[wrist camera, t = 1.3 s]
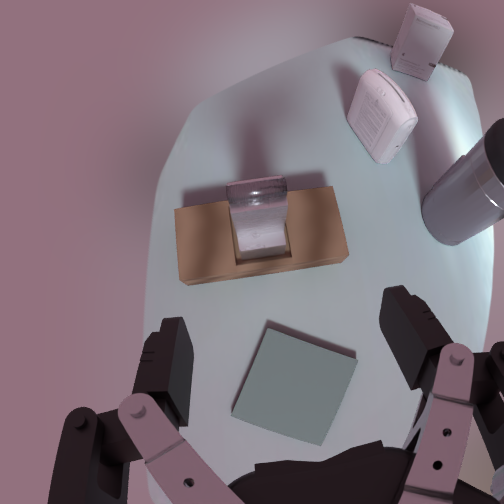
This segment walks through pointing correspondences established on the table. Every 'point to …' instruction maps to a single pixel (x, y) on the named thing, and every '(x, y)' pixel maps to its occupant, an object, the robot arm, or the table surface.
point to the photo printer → (381, 115)
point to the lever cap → (259, 215)
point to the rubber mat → (294, 388)
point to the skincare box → (420, 42)
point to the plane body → (233, 267)
